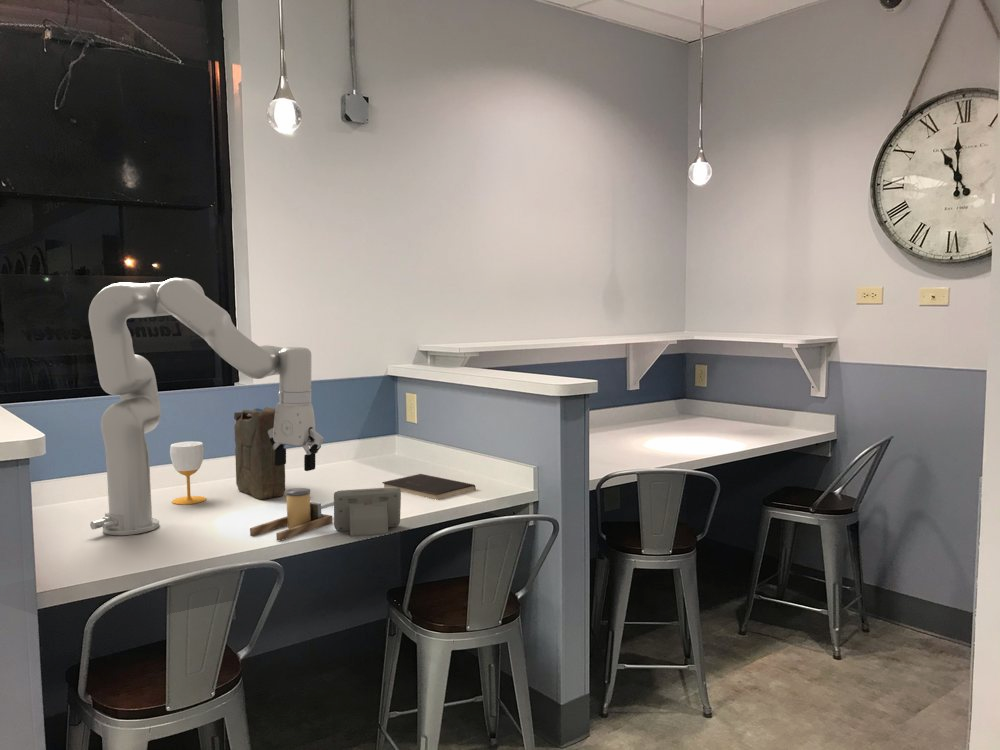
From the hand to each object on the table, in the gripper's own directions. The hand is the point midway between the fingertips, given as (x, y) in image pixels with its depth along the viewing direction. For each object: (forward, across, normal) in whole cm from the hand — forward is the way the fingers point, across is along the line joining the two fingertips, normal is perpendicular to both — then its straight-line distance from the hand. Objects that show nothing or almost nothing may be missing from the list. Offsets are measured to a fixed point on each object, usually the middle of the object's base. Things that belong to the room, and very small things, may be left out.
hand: (295, 467), depth 200 cm
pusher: (+14, +1, +8) cm, 17 cm away
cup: (+16, -45, +5) cm, 48 cm away
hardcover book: (+14, +6, +49) cm, 51 cm away
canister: (+16, -34, +21) cm, 43 cm away
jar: (+15, +1, +1) cm, 15 cm away
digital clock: (+14, +18, +6) cm, 24 cm away
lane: (+15, +1, -2) cm, 15 cm away
